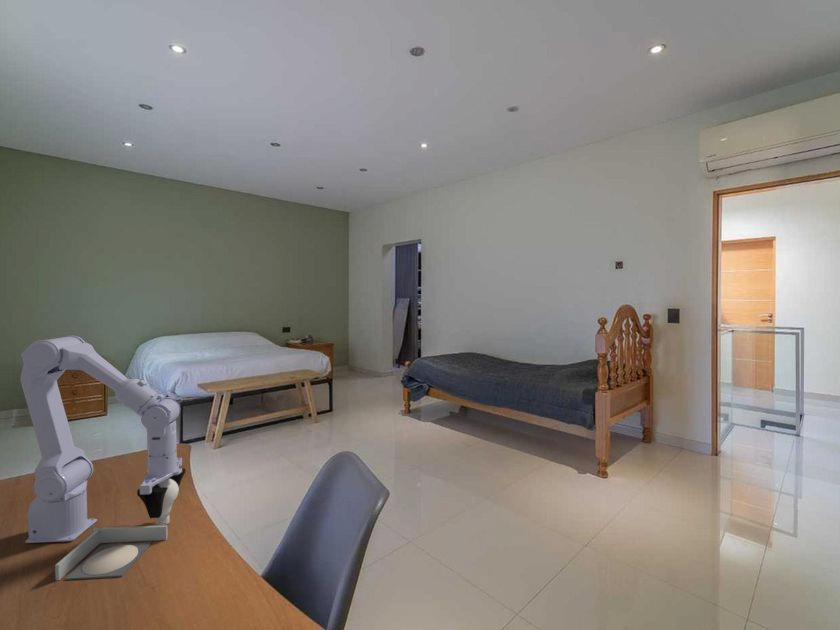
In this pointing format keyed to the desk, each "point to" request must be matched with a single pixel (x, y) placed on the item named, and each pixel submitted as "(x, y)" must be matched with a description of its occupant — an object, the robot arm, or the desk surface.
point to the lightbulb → (167, 500)
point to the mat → (109, 561)
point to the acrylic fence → (107, 537)
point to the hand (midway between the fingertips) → (163, 509)
